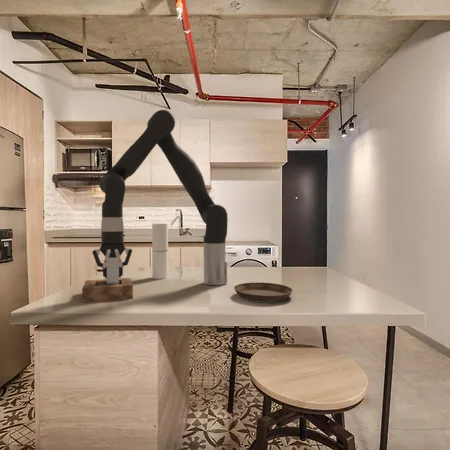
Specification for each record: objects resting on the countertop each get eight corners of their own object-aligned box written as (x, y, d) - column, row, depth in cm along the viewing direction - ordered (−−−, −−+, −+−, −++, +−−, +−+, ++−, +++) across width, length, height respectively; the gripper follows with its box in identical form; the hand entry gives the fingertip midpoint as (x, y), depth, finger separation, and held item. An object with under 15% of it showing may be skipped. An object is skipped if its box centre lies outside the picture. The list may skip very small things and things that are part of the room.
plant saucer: (280, 289, 124) (280, 280, 124) (302, 303, 104) (302, 293, 104) (229, 291, 121) (229, 282, 121) (241, 306, 101) (241, 296, 100)
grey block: (118, 287, 117) (118, 255, 117) (119, 291, 112) (118, 257, 111) (98, 288, 115) (98, 256, 115) (97, 292, 109) (97, 258, 109)
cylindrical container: (149, 278, 144) (148, 223, 143) (158, 275, 151) (157, 223, 150) (162, 279, 141) (162, 223, 141) (171, 276, 148) (170, 223, 147)
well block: (130, 289, 123) (130, 277, 122) (132, 298, 109) (132, 285, 109) (85, 292, 117) (85, 280, 117) (82, 302, 104) (82, 288, 104)
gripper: (132, 229, 119) (132, 274, 120) (91, 229, 114) (92, 277, 115) (133, 230, 112) (134, 278, 112) (90, 230, 107) (90, 281, 108)
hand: (112, 277), depth 114 cm, fingers closed on grey block, 4 cm apart
